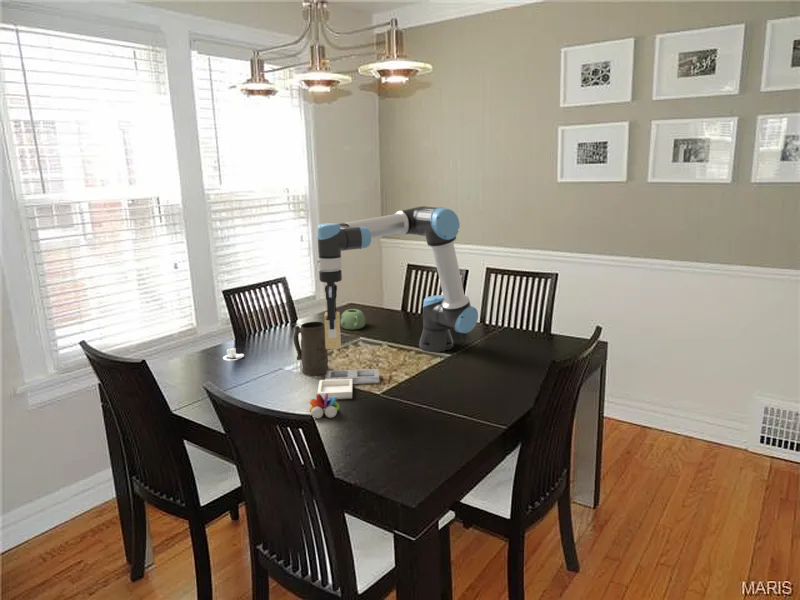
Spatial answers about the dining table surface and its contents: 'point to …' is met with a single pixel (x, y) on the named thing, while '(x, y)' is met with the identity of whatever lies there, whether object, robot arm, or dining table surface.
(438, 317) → the robot arm
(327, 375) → the gray rectangular frame
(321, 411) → the rainbow petal fan toy
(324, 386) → the parts tray
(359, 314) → the green dome pot
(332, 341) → the tan knobbed block
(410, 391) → the dining table surface
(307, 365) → the beer stein
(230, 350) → the white valve handwheel
